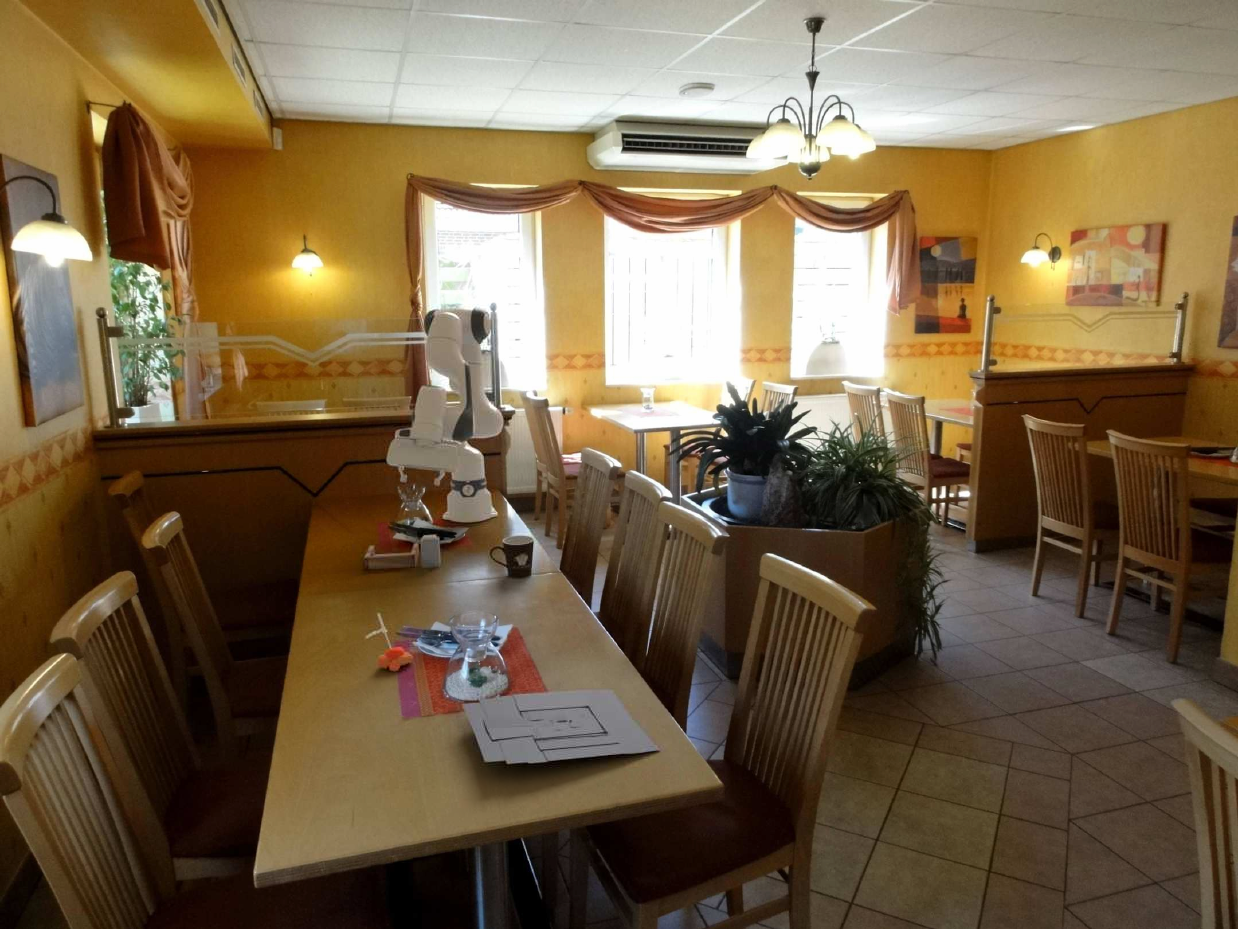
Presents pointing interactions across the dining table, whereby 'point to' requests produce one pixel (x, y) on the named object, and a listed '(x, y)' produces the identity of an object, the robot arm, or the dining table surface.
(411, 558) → the bay
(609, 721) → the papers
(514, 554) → the coffee mug
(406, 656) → the orange flower
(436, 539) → the grey upright block
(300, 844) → the dining table surface
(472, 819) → the dining table surface
